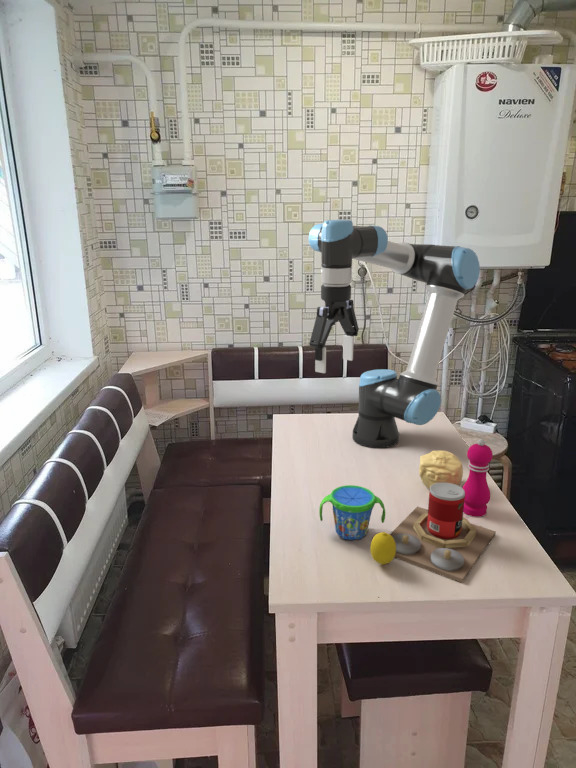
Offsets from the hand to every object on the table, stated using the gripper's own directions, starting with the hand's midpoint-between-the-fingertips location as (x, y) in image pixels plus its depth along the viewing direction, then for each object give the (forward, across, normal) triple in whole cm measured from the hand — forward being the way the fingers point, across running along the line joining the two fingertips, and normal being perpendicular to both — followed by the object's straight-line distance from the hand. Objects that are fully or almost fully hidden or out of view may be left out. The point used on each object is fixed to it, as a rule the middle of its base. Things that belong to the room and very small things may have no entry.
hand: (334, 365), depth 154 cm
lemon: (+35, +25, +28) cm, 51 cm away
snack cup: (+35, +18, +16) cm, 43 cm away
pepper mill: (+35, -9, +37) cm, 52 cm away
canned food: (+34, +6, +35) cm, 49 cm away
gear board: (+35, +10, +35) cm, 50 cm away
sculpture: (+35, -16, +25) cm, 46 cm away
